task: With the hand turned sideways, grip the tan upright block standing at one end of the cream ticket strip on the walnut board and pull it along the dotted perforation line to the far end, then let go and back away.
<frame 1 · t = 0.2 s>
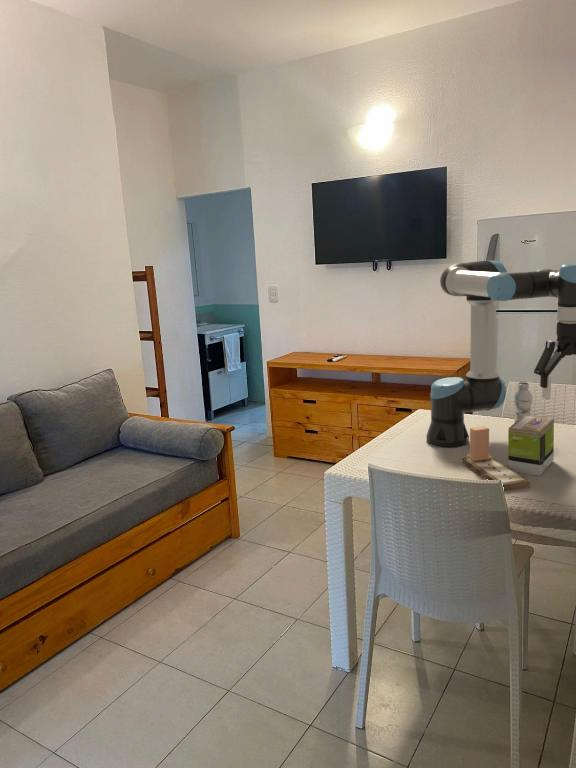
hand: (567, 395, 163), 27 cm above the table, tool pointing down, fingers open, 13 cm apart
plastic bottle: (522, 436, 215), on the table
tea box: (530, 466, 186), on the table
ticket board: (493, 474, 181), on the table
tan upright block: (479, 442, 188), point 8 cm above the table, slide at 0.0 cm
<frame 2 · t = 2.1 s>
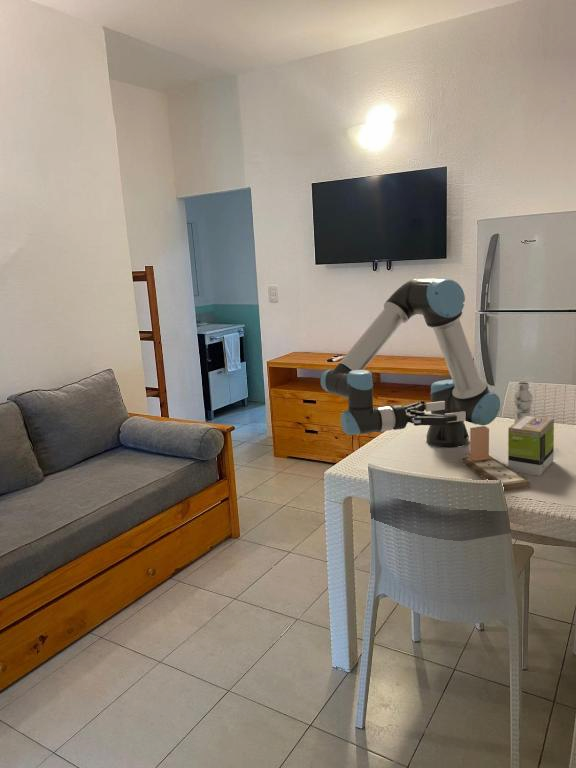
hand: (454, 410, 182), 20 cm above the table, tool horizontal, fingers open, 13 cm apart
nothing on the table moved.
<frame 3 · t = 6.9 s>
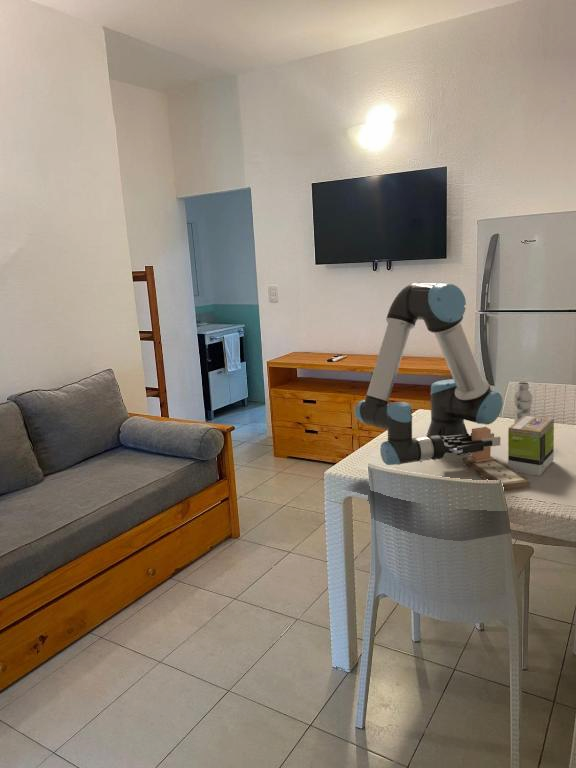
hand: (496, 439, 188), 8 cm above the table, tool horizontal, fingers closed on tan upright block, 3 cm apart
tan upright block: (481, 443, 187), point 8 cm above the table, slide at 1.0 cm, touching gripper
everything else where it was.
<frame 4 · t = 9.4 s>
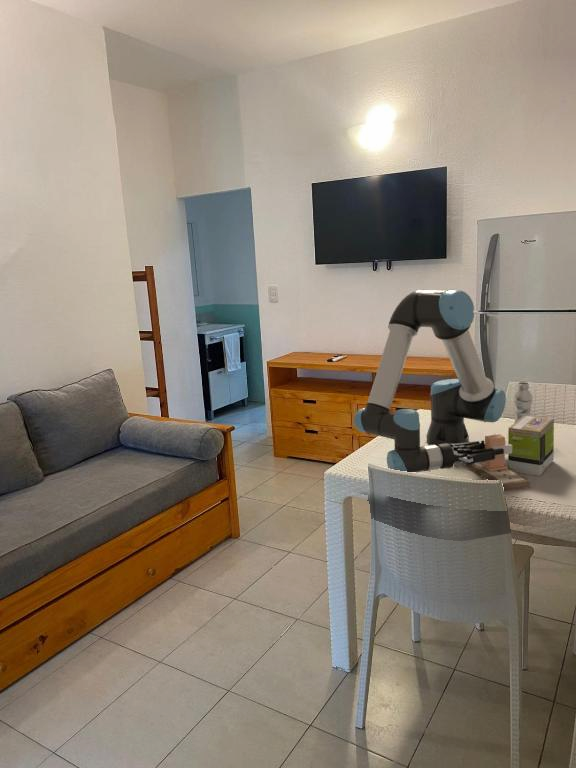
hand: (508, 446, 180), 9 cm above the table, tool horizontal, fingers closed on tan upright block, 3 cm apart
tan upright block: (494, 451, 179), point 8 cm above the table, slide at 9.3 cm, touching gripper
everything else where it was.
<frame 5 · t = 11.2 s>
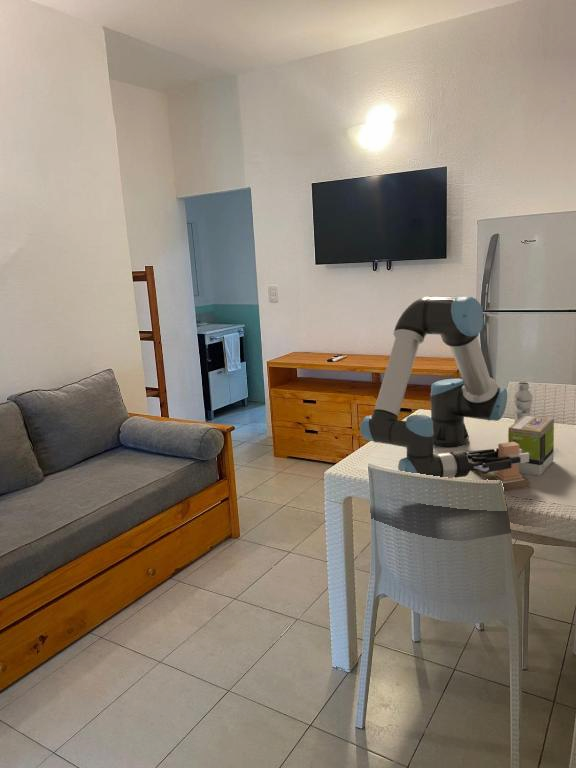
hand: (524, 455, 172), 8 cm above the table, tool horizontal, fingers closed on tan upright block, 3 cm apart
tan upright block: (508, 460, 172), point 8 cm above the table, slide at 17.0 cm, touching gripper
everything else where it was.
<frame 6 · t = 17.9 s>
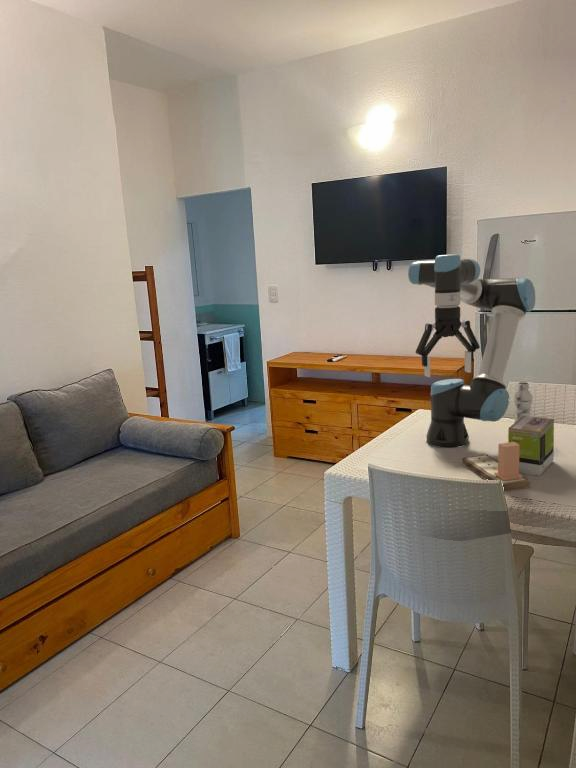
hand: (447, 374, 181), 32 cm above the table, tool pointing down, fingers open, 13 cm apart
tan upright block: (508, 460, 172), point 8 cm above the table, slide at 17.0 cm
everything else where it was.
at the end: tan upright block slide at 17.0 cm; the gripper is holding nothing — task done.
